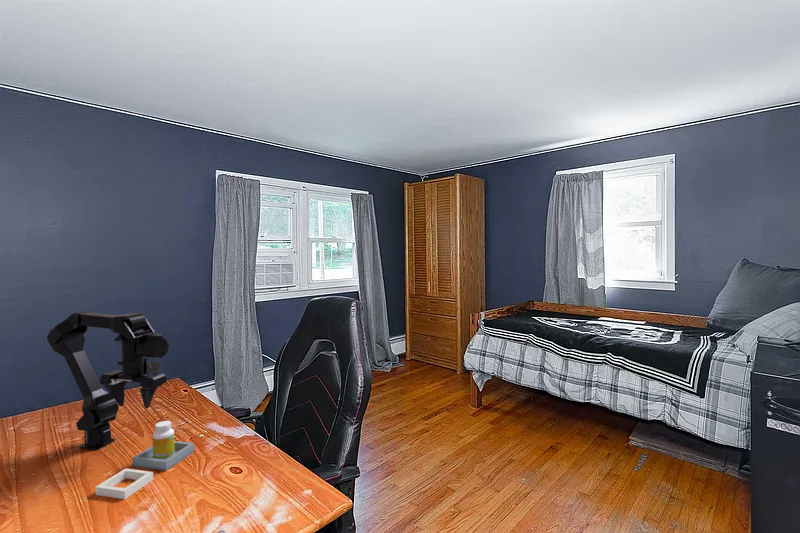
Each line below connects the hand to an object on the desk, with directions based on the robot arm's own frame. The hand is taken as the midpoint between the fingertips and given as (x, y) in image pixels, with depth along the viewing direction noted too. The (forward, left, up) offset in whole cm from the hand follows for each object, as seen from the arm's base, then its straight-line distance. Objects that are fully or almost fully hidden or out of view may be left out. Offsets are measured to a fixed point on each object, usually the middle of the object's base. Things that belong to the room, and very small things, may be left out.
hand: (134, 406), depth 123 cm
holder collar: (+14, -17, -13) cm, 26 cm away
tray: (+13, -3, -13) cm, 19 cm away
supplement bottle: (+13, -3, -13) cm, 18 cm away
